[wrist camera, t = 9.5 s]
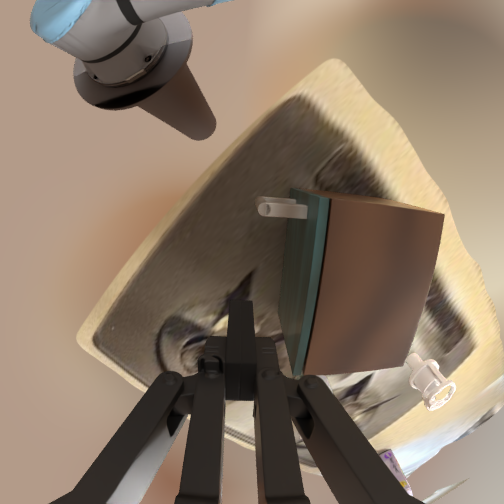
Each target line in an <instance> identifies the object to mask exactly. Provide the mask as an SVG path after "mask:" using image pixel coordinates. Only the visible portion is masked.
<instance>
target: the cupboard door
mask: <svg viewBox="0 0 504 504" xmlns="http://www.w3.org/2000/svg"><path fill="white" fill-rule="evenodd" d="M329 200H330V198H327V197H324V196H321V195H318V194H314V193H311V192H308V191H305V190H301V189H298V188H291V189H290V199H289V198H276V197H262V196H259V197H257V198H256V199H255V205H256V208H257V210H258V213H259V214H260V215H261V216H269V217H283V218H288V223H287V234H286V244H285V254H284V264H283V273H282V282H281V291H280V300H279V308H278V315H279V319H280V323H281V327H282V331H283V336H284V340H285V344H286V348H287V353H288V357H289V361H290V365H291V370H292V374H293V375H301V373H302V368H303V364H304V359H305V355H306V350H307V345H308V340H309V335H310V330H311V325H312V319H313V314H314V308H315V302H316V297H317V290H318V284H319V278H320V271H321V265H322V258H323V250H324V243H325V235H326V227H327V218H328V209H329Z"/></svg>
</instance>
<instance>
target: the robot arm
mask: <svg viewBox="0 0 504 504" xmlns="http://www.w3.org/2000/svg"><path fill="white" fill-rule="evenodd" d="M228 1H233V0H36V2H35V5H34V7H33V10H32V12H31V18H30V26H31V29H32V31H33V32H34V33H35V34H37V35H38V36H40V37H41V38H43V40H44V41H45V42H47V43H50V44H52V45H54V46H55V47H57V48H59V49H61V50H63V51H65V52H67V53H69V54H71V55H72V56H74V57H76V58H78V59H80V60H81V61H82V63H83V65H84V67H85V69H86V71H87V73H88V75H89V76H90V78H91V79H92V80H94V81H95V82H97V83H99V84H100V85H102V86H105V87H109V88H120V87H125V86H128V85H131V84H133V83H135V82H137V81H139V80H141V79H142V78H144V77H145V76H147V75H148V74H149V73H150V72H151V71H153V70H154V69H155V67H156V66H157V65H158V64H159V63H160V61H161V60H162V58H163V57H164V55H165V53H166V50H167V47H168V42H169V36H168V31H167V29H166V27H165V25H164V24H163V22H162V21H161V20H160V19H159V18H160V17H163V16H167V15H170V14H174V13H177V12H181V11H185V10H189V9H193V8H198V7H202V6H207V7H210V6H213V5H215V4H218V3H222V2H228ZM225 400H237V401H254V409H253V417H254V428H255V447H256V467H257V486H258V504H310V500H309V498H308V497H307V496H305V493H304V488H303V483H302V477H301V471H300V465H299V460H298V454H297V448H296V443H295V437H294V431H293V426H292V421H293V423H294V424H295V426H296V428H297V430H298V432H299V434H300V436H301V438H302V439H303V441H304V443H305V445H306V447H307V449H308V450H309V452H310V454H311V456H312V458H313V459H314V461H315V463H316V465H317V467H318V468H319V470H320V472H321V474H322V475H323V477H324V479H325V481H326V482H327V484H328V486H329V487H330V489H331V491H332V493H333V494H334V496H335V498H336V500H337V501H338V503H339V504H425V503H423V502H421V501H419V500H418V499H416V498H414V497H412V496H411V495H409V494H408V493H407V491H406V490H405V489H404V487H403V486H402V485H401V484H400V482H399V481H398V480H397V478H396V477H395V476H394V474H393V473H392V472H391V471H390V469H389V468H388V467H387V465H386V464H385V463H384V461H383V460H382V459H381V457H380V456H379V455H378V453H377V452H376V451H375V449H374V448H373V447H372V446H371V444H370V443H369V442H368V440H367V439H366V437H365V436H364V435H363V433H362V432H361V431H360V429H359V428H358V427H357V425H356V424H355V423H354V421H353V420H352V419H351V417H350V416H349V415H348V413H347V412H346V411H345V409H344V408H343V406H342V405H341V404H340V402H339V401H338V400H337V398H336V397H335V396H334V394H333V393H332V391H331V390H330V389H329V387H328V386H327V385H326V383H325V382H324V380H323V379H321V378H320V377H318V376H316V375H305V376H302V377H301V378H300V379H299V380H296V379H291V378H288V377H286V376H284V375H283V373H282V372H281V371H280V368H279V363H278V357H277V352H276V346H275V342H274V341H273V340H272V339H271V337H255V330H254V316H253V303H252V301H244V300H230V306H229V318H228V330H227V337H221V336H210V337H209V338H208V339H207V341H206V345H205V351H204V354H203V355H201V356H200V357H199V358H198V373H197V374H195V375H193V376H188V377H182V375H181V374H179V373H177V372H174V371H167V372H163V373H161V374H160V375H159V376H158V377H157V378H156V379H155V381H154V382H153V383H152V385H151V386H150V387H149V389H148V390H147V391H146V393H145V394H144V396H143V397H142V398H141V400H140V401H139V402H138V403H137V405H136V406H135V407H134V409H133V410H132V412H131V413H130V414H129V416H128V417H127V418H126V420H125V421H124V422H123V424H122V425H121V427H120V428H119V429H118V430H117V432H116V433H115V434H114V436H113V437H112V438H111V440H110V441H109V442H108V444H107V445H106V447H105V448H104V449H103V450H102V452H101V453H100V454H99V456H98V457H97V458H96V460H95V461H94V462H93V464H92V465H91V467H90V468H89V469H88V470H87V472H86V473H85V474H84V476H83V477H82V478H81V480H80V481H79V482H78V484H77V485H76V486H75V488H74V489H73V490H72V491H71V492H69V493H67V494H65V495H64V496H62V497H60V498H58V499H56V500H55V501H53V502H51V503H49V504H139V503H140V501H141V500H142V498H143V496H144V494H145V493H146V491H147V489H148V487H149V486H150V484H151V482H152V480H153V479H154V477H155V475H156V473H157V471H158V470H159V468H160V466H161V464H162V462H163V461H164V459H165V457H166V455H167V453H168V451H169V449H170V448H171V446H172V444H173V442H174V440H175V439H176V436H177V435H178V433H179V431H180V429H181V428H182V426H183V424H184V422H185V420H186V418H187V416H188V414H191V418H190V424H189V430H188V436H187V443H186V449H185V455H184V462H183V469H182V476H181V482H180V490H179V494H178V495H177V496H176V498H175V503H174V504H222V479H223V478H222V477H223V452H224V451H223V450H224V428H225ZM291 419H292V420H291Z"/></svg>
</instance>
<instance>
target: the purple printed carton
mask: <svg viewBox="0 0 504 504" xmlns="http://www.w3.org/2000/svg"><path fill="white" fill-rule="evenodd" d="M379 456H380V457H381V459H382V460H383V461H384V463H385V464H386V465H387V467H388V468H389V469H390V471H391V472H392V473H393V474H394V476H395V477H396V478H397V480H398V481H399V482H400V484H401V485H402V486H403V487H404V489H405V490H406V491H407V493H408V494H409V495H411V496H412V495H413V494H412V491H411V488H410V486H409V484H408V481H407V479H406V477H405V475H404V473H403V471H402V470H401V468H400V466H399V464H398V462H397V460H396V458H395V456H394V454H393V452H392V450H391V449H390V450H388V451H386V452H384V453H382V454H380V455H379Z"/></svg>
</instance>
